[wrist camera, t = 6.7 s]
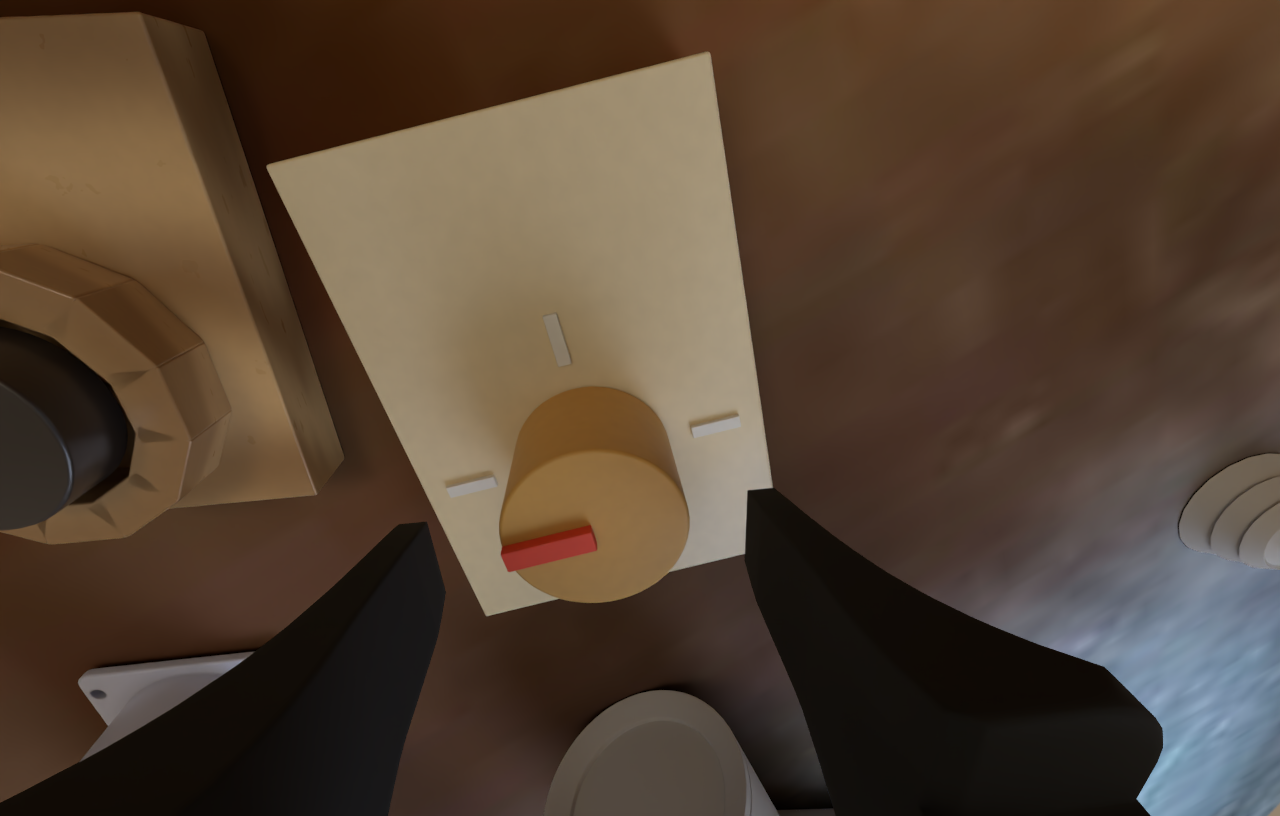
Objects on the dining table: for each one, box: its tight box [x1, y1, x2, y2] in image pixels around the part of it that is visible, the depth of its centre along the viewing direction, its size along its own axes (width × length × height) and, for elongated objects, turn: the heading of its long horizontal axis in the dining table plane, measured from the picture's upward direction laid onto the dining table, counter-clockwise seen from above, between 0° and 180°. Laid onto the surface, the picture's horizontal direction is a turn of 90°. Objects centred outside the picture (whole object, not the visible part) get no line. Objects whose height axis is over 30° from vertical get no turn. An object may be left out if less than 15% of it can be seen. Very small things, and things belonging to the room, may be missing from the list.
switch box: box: [0, 12, 344, 545], centre depth 14 cm, size 12×10×4 cm
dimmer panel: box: [266, 52, 773, 616], centre depth 16 cm, size 14×10×3 cm
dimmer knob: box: [499, 387, 690, 603], centre depth 14 cm, size 4×4×4 cm
